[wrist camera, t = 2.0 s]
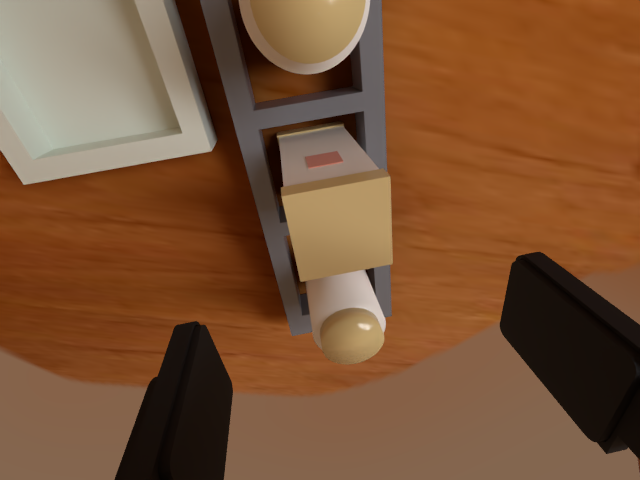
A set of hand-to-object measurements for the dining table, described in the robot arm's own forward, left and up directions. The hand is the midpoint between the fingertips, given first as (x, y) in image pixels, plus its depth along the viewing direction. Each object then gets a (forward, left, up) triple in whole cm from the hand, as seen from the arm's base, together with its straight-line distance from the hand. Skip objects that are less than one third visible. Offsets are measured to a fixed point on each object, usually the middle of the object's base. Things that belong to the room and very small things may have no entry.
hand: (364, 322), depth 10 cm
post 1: (-9, 0, -14) cm, 17 cm away
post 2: (+7, 0, -14) cm, 16 cm away
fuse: (-1, 0, -14) cm, 14 cm away
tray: (-8, -11, -14) cm, 20 cm away
